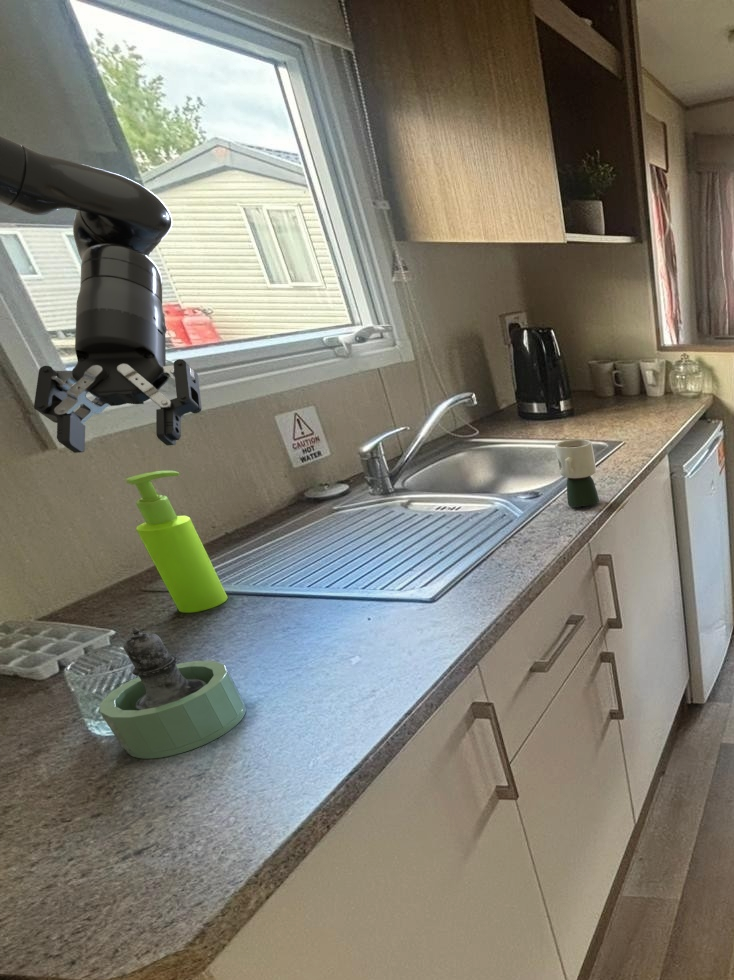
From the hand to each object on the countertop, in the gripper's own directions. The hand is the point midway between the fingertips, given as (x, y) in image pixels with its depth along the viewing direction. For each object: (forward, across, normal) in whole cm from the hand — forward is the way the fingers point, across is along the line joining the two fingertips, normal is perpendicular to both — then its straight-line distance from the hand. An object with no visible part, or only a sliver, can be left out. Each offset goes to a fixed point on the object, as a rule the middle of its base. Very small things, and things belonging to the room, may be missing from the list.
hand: (120, 445), depth 75 cm
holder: (+33, +3, +6) cm, 33 cm away
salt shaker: (+32, +3, +6) cm, 33 cm away
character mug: (-9, +50, +48) cm, 70 cm away
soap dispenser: (+7, -7, +32) cm, 33 cm away
